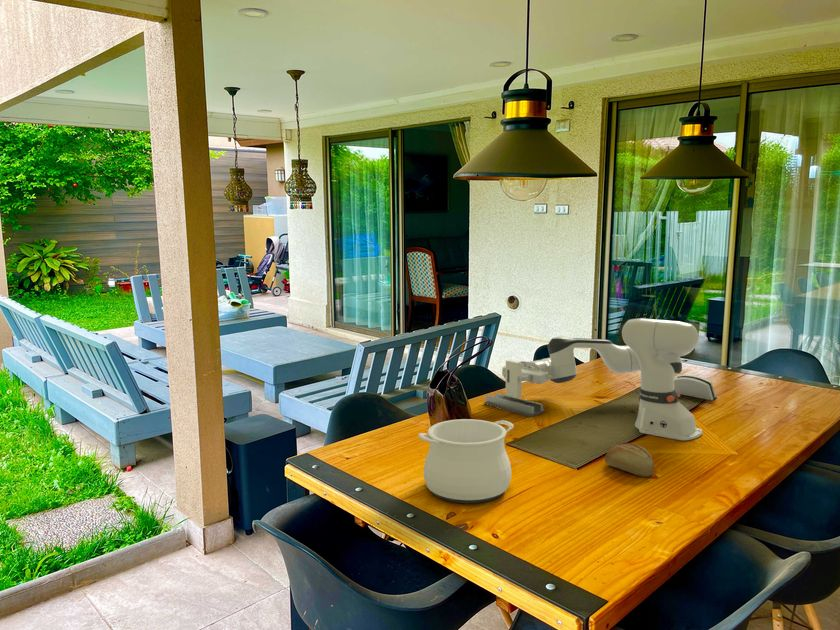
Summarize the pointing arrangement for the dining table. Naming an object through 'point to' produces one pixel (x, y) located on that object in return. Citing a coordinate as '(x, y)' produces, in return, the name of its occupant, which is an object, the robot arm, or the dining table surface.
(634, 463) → the bread roll
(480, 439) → the pot
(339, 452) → the dining table surface
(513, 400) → the track
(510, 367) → the white rectangular block
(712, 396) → the white curved block
